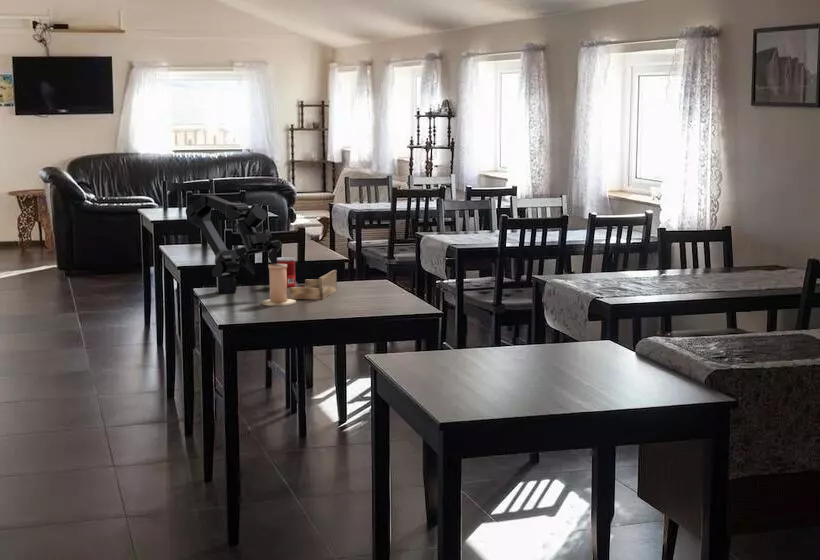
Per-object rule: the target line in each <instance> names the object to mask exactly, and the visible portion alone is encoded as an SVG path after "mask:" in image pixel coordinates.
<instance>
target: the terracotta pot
mask: <svg viewBox="0 0 820 560" xmlns="http://www.w3.org/2000/svg"><path fill="white" fill-rule="evenodd" d="M267 267H268V270H269V272H268V273H269V276H268V277H269V299H270V302H273V303H282V302H287V299H288V288H287V271H286V268H287V264H272V263H270V264H268V266H267Z"/></svg>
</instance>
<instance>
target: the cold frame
mask: <svg viewBox="0 0 820 560" xmlns="http://www.w3.org/2000/svg"><path fill="white" fill-rule="evenodd" d="M337 272H338V271H337V269H333V270H331V271H328V273H326V274H324V275H322V276H320V277H319V278H318V279H312V278H311V279H308V278H307V279H304V287H299V286H298V287H296V286H295V287H290V288H289V299H293V300H324V299H326V298H327V297H328V296H331V295H332V294H333V293H335V292H337V291H336V290H337V288H338V287H337V285H338V284H337V280H338V279H337Z"/></svg>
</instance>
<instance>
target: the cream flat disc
mask: <svg viewBox="0 0 820 560" xmlns="http://www.w3.org/2000/svg"><path fill="white" fill-rule="evenodd" d="M295 304H297V299H290V298H287V302H282V303H273V302H270V298H269V299H264V300H262V301H261V305H264V306H268V307H269V306H270V307H284V306H292V305H295Z"/></svg>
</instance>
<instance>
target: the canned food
mask: <svg viewBox="0 0 820 560" xmlns="http://www.w3.org/2000/svg"><path fill="white" fill-rule="evenodd" d="M295 258H296V257H292V256H291V257H290V256H288V257H287V256H284V257H283V256H281V257H277V264H287V268H286V271H287V287H296V259H295Z"/></svg>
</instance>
